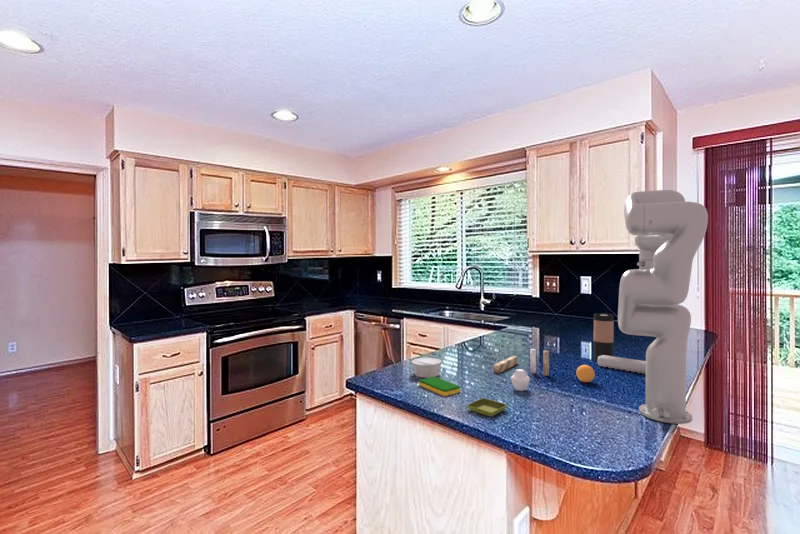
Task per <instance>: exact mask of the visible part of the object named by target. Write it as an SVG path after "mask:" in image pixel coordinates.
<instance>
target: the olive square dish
mask: <svg viewBox="0 0 800 534" xmlns="http://www.w3.org/2000/svg"><path fill="white" fill-rule="evenodd" d="M466 406H467V408H468V409H469V410H470V411H472V412H474V413H478V414H481V415H484V416H488V417H493V416H495V415H497V414H500V413H501V412H503V411H505V410H506V408H507V407H508V404H506V403H503V402H499V401H496V400H493V399H489V398H486V397H485V398H483V397H482V398H480V399H478V400H475V401H473V402H470V403H467V404H466Z"/></svg>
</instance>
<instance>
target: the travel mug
mask: <svg viewBox="0 0 800 534" xmlns="http://www.w3.org/2000/svg"><path fill="white" fill-rule="evenodd" d="M614 324H615V321H614V315H613V314H611V313H608V312H607V313H605V312H602V313H601V312H597V313H596V312H595V313H593V360H594V362H596V363H597V361H598V356H602V355H607V356H614V345H615V344H614V343H615V342H614V341H615V340H614V339H615V338H614V331H615V330H614Z"/></svg>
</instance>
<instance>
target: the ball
mask: <svg viewBox="0 0 800 534" xmlns="http://www.w3.org/2000/svg"><path fill="white" fill-rule="evenodd" d="M575 372H576V377H577V378H578V380H579V381H581V382H583V383H590V382H592V381H593V380H594V379H595V375H596V373H595V370H594V369H593V367H591V366H590V365H588V364H582V365H580V366H577V368H576V371H575Z"/></svg>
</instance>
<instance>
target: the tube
mask: <svg viewBox="0 0 800 534" xmlns="http://www.w3.org/2000/svg"><path fill="white" fill-rule="evenodd" d="M596 363H597V365H598V366H599V367H601V366H602V367H601V368H606V367H608V368H607V369H612V368H614V369H613V370H617V369H619V370H618V371H623V370H625V371H624V372H629V371H631V373H634V372H637V373H636V374H640V373H642V374H641V375H646V360H640V359H633V358H627V357H621V356H620V357H619V356H614V355H613V356H607V355H602V356H598V361H597V362H596Z"/></svg>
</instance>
